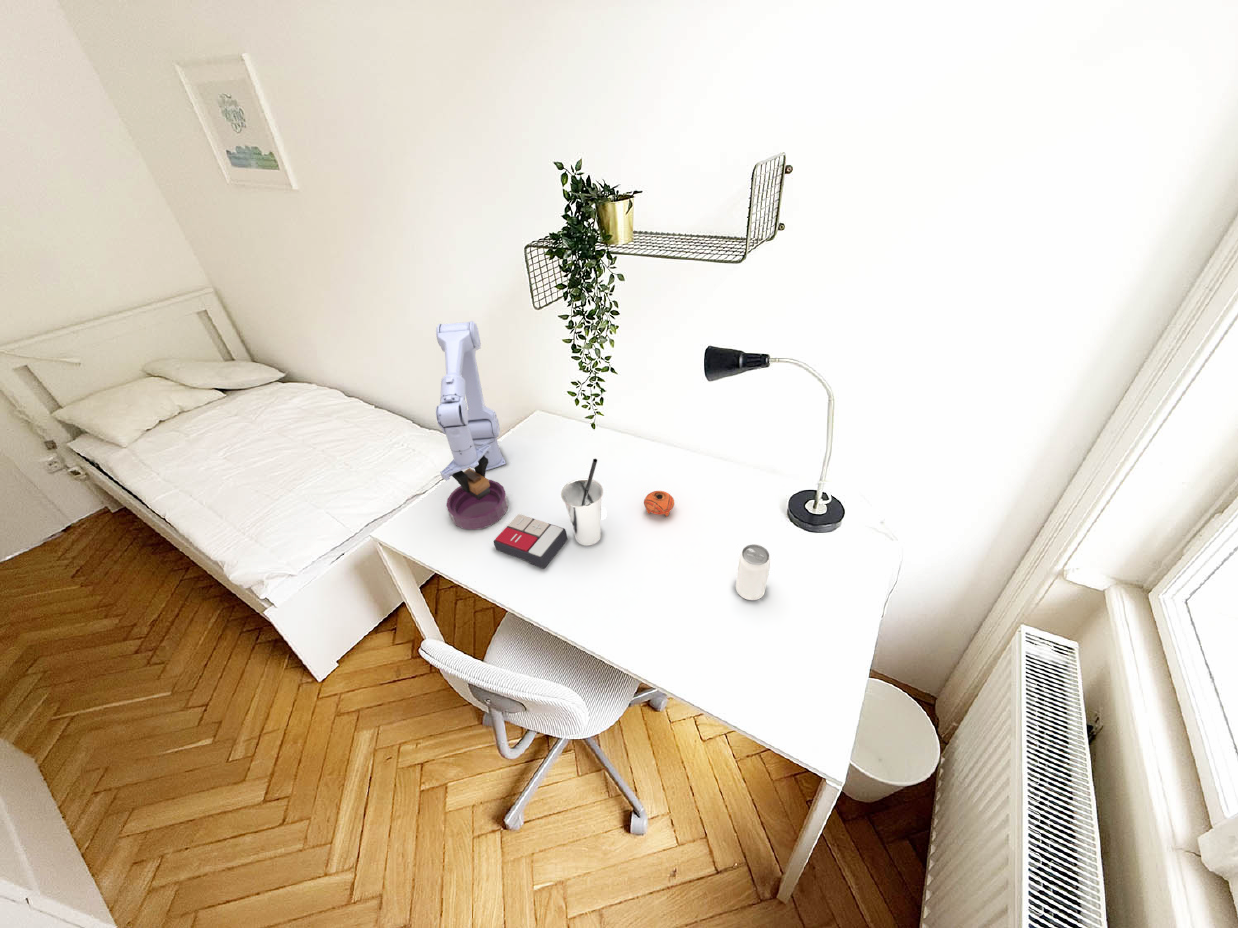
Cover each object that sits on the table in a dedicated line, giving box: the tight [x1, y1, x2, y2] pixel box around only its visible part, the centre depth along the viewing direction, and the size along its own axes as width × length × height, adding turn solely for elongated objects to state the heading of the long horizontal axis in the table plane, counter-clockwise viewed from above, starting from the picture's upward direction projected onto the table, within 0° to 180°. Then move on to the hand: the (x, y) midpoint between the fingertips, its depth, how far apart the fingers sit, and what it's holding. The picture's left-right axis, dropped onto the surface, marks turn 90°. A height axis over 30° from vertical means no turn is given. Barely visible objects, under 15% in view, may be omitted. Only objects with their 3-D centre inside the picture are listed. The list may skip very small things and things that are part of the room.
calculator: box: [493, 513, 568, 569], centre depth 133 cm, size 11×4×15 cm
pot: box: [643, 490, 675, 517], centre depth 139 cm, size 8×8×7 cm
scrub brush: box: [461, 467, 490, 500], centre depth 139 cm, size 8×4×6 cm, turn 50°
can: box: [735, 543, 771, 601], centre depth 115 cm, size 6×6×12 cm
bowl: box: [446, 479, 509, 530], centre depth 144 cm, size 16×16×4 cm
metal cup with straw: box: [560, 458, 604, 547], centre depth 125 cm, size 11×11×30 cm
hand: (474, 485), depth 140 cm, fingers closed on scrub brush, 4 cm apart
